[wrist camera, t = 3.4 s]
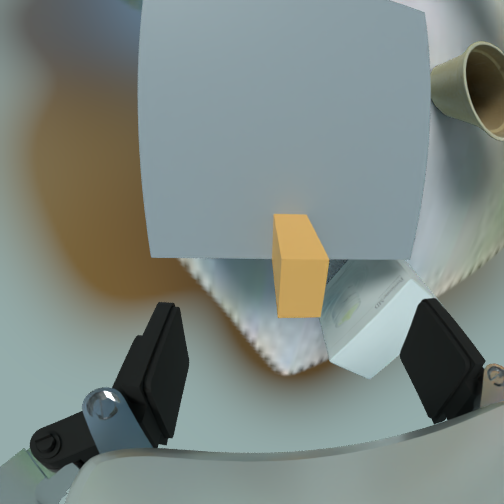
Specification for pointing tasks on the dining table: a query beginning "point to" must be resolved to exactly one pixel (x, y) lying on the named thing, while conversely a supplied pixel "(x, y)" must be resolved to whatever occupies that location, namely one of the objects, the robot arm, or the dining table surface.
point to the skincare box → (370, 313)
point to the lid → (283, 134)
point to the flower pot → (472, 88)
